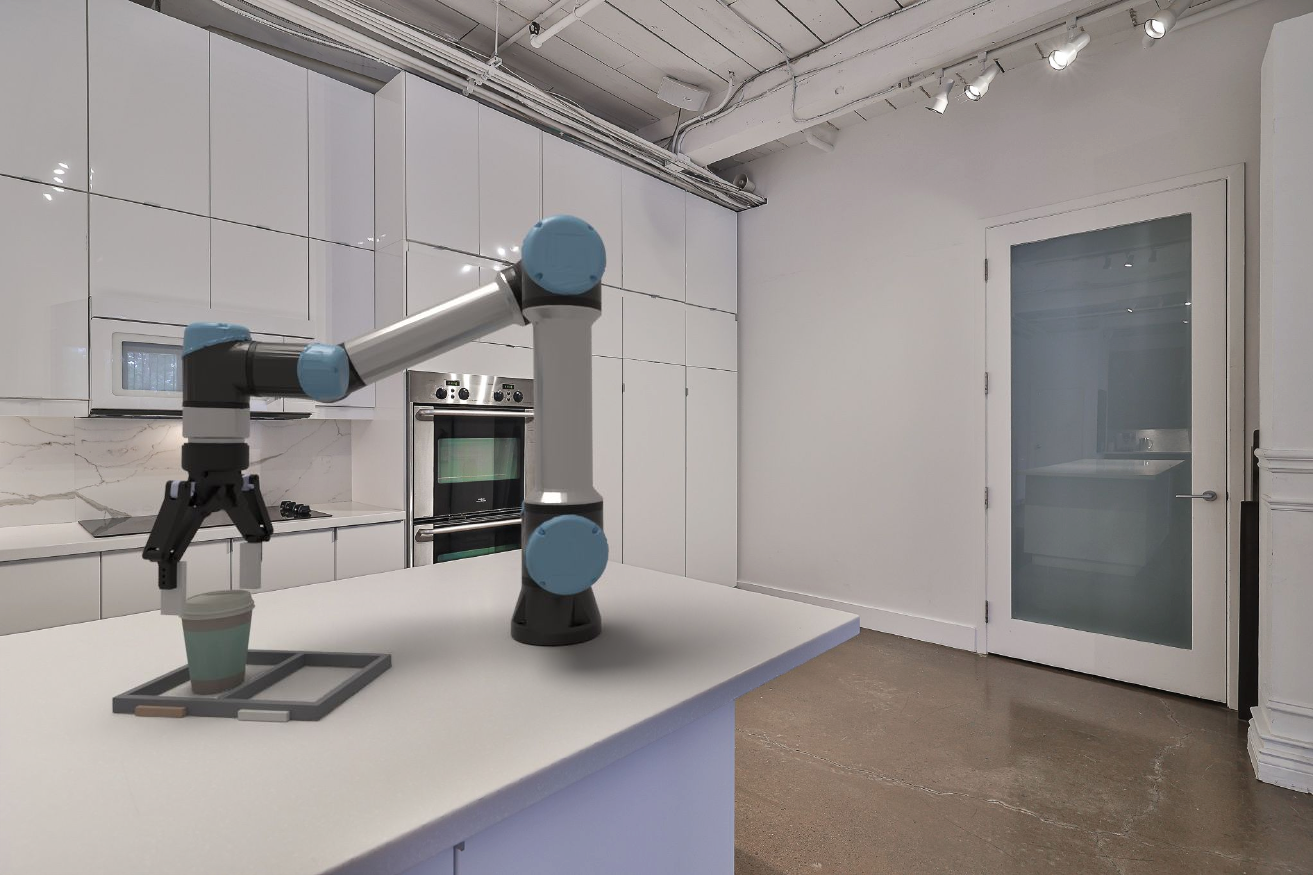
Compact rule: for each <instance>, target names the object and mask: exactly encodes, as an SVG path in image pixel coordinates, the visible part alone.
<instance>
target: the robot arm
mask: <svg viewBox="0 0 1313 875" xmlns="http://www.w3.org/2000/svg"><path fill="white" fill-rule="evenodd" d="M520 250H521V251H520V252H521V253H520V254H521V259H519V260H518V261H517V262H515V263H513V264H511V266H508V267H506V268H503V269H502V270H501V269H500V270H498V271H497V272H496V275H495V278H494V280H492V281H489V282H487V283H484V284H482V285H480V286H477V287H475V288H472V289H470V290H466V291H465V292H463V293H459V294H457V295H455V296H452V297H450V298H447V299H445V300H443V301H440V302H438V303H435V304H432V305H430V306H427V307H425V308H423V309H421V310H418V311H415V312H413V313H411V314H409V315H406V316H404V317H402V318H399V319H396V320H394V321H391V322H389V323H387V324H384V325H381V326H379V327H377V328H375V329H372V330H369V331H367V332H365V333H362V334H360V335H357V336H355V337H352V338H350V339H347V340H345V341H343V342H341V343H338V344H325V343H320V342H312V343H307V342H303V343H301V342H270V341H268V342H267V341H259V340H258V341H257V340H253V338H252V337H251V330H250V329H249V328H248V327H246V326H244V325H239V324H234V323H222V322H215V321H214V322H212V321H199V322H198V321H197V322H192V323H190V324H188V325H187V326H186V327H185V329H184V332H183V341H182V343H183V344H182V353H181V356H180V359H181V366H182V367H181V371H182V373H181V374H182V376H181V377H182V378H181V379H182V380H181V381H182V383H181V384H182V387H181V388H182V403H181V404H182V405H181V406H182V425H181V426H182V433H181V434H182V435H181V436H182V438H184V439H187V442H184V443H183V444H182V445H181V456H180V457H181V460H180V461H181V469H182V470H183V471H185V472H187V474H188V476H187V480H167V481H166V482H165V486H164V488H165V489H164V496H163V497H164V498H163V501H162V504H161V506H160V508H159V511H158V513H157V516H156V518H155V520H154V522H153V526H152V529H151V531H150V533H149V536H148V539H146V543H145V546H144V548H143V551H142V552H141V558H142V560H145V561H149V562H150V563H157V566H158V568H157V574H158V578H157V580H158V581H157V586H158V589H159V590H160V615H161V616H182V615H185V614H186V598H187V571H188V570H187V568H188V567H187V565H188V564H187V562H188V561H187V560H183V561H182V560H181V559H182V558H183V556H184V554H185V552H186V551H187V549H188V547H189V546H190V544H191V543H192V541H193V539H194V537H195V536H196V534H197V532H199V529H200V527H201V525H202V524H203V522H204V520H205V519H206V518H208V517H210V516H211V515H212V513H218V512H220V511H223V512H225V513H226V514H227V516H228V517H229V519H230V520H231V522H232V523H233V525H234V526H235V527H236V529H237V531H238V532H239V534H240V535H241V537H242V538H243V540H244V542H240V543H239V580H238V583H239V586H238V587H239V589H238V590H259V589H261V588H262V562H263V543H267V542H270V540H271V538H272V537H271V536H272V535H273V534H274V531H275V528H274V526H273V523H272V521H271V516H270V514H269V511H268V509H267V506H266V502H265V500H264V496H263V495H262V490H261V485H260V484H261V483H260V476H259V474H256V473H255V474H253V473H252V474H251V473H243V471H247V470H248V469H249V468H250V445H249V443H247V442H245V440H246V439H249V438H250V437H251V404H250V401H251V398H252V397H254V398H280V399H281V398H282V399H297V400H298V399H300V400H307V401H314V402H317V403H321V404H334V403H338V402H341V401H343V400H345V399H346V398H348V397H349V396H350V395H351V394H352V393H355V392H357V391H359V390H361V389H363V388H366V387H367V386H370V385H373V384H374V383H377V382H379V381H382V380H384V379H386V378H389V377H391V376H393V375H396V374H398V373H401V372H402V371H405V370H407V369H410V368H413V367H415V366H417V365H419V364H421V363H424V362H426V361H429V360H432V359H434V358H436V357H438V356H441V355H443V354H445V353H447V352H450V351H453V350H455V349H457V348H459V347H463V346H465V345H467V344H469V343H471V342H474V341H476V340H479V339H481V338H483V337H486V336H488V335H490V334H493V333H496V332H497V331H500V330H503V329H506V328H507V327H510V326H512V325H517V326H519V327H525V326H528V325H531V326H532V347H533V348H532V351H533V355H532V357H533V359H532V362H533V364H532V366H533V375H532V376H533V446H534V447H533V454H534V456H533V457H534V460H533V461H534V462H533V463H534V464H533V466H534V468H533V469H534V487H533V489H532V490H531V491H530V493H528V495H527V496H526V497H525V498H524V499H523V500H522V502H521V510H520V513H519V514H520V515H519V516H520V518H521V586H520V587H521V589H520V591H519V595H518V597H517V600H516V604H515V606H514V611H513V613H512V617H511V619H510V620H511V621H510V635H511V637H512V638H513V639H514V640H516V641H518V642H522V643H525V644H529V645H536V646H537V645H538V646H562V645H569V644H577V643H581V642H586V641H588V640H592V639H594V638H595V637H597V636H599V634H601V632H602V616H601V613H600V612H601V611H600V609H599V607H598V603H597V600H596V597H595V596H596V595H595V593H594V591H593V587H592V586H594V584H596V583H597V581H598V580H599V579H601V577H602V575H603V574H604V572H605V570H606V568H607V565H608V561H609V552H610V550H609V549H610V548H609V543H608V539H607V536H606V534H605V532H604V497H603V496H602V495H601V494H600V493H599V492H598V491H597V490H596V489H595V487H594V480H593V478H594V472H593V470H594V465H593V464H594V463H593V457H594V456H593V452H594V451H593V447H594V446H593V445H594V444H593V367H592V365H593V362H592V361H593V354H592V352H593V348H592V347H593V346H592V339H593V338H592V332H593V331H592V327H593V325H594V324H595V323H596V321H598V320H599V318H600V317H601V316H602V304H603V301H602V299H603V298H602V297H603V296H602V295H603V293H602V278H603V276H604V274H605V272H606V267H607V252H606V248H605V244H604V241H603V239H602V237H601V235H600V234H599V233H598V231H597V230H596V229H595V228H594V227H593V226H592V225H590V224H589V223H588V222H587V221H585V220H584V219H582V218H580V217H577V216H574V215H570V214H555V215H553V214H552V215H550V216H547V217H545V218H543V219H540V220H539V221H538V222H537V223H535V224H534V225H533V226H532V227H531V229H529V231H528V233H527V234H525V238H524V239H523V241H522V246H521V249H520Z"/></svg>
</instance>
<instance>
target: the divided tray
mask: <svg viewBox="0 0 1313 875" xmlns="http://www.w3.org/2000/svg"><path fill="white" fill-rule="evenodd" d="M249 664H250V665H265V666H266V665H268V666H269V665H271V666H272V667H270V668H269V669H266V670H265V671H263V672H261V673H259V674H257V675H256V676H254V677H252V678H250V679H248V680H246V681H245V682H243V683H242V684H241V685H239V686H237V687H235V688H233V689H231V690H228V691H225V692H224V693H223V694H221V695H219V696H217V697H202V696H201V697H198V696H197V697H195V696H174V695H173V696H172V695H171V696H170V695H169V696H168V695H161V694H162V693H164V692H166V691H168V690H172V689H173V688H175V687H177V686H178V685H181V684H183V683H186V682H187V681H189V680H190V674H189V667H188V663H186V664H184V665H182V666H179V667H177V668H175V669H173V670H171V671H168V672H167V673H164V674H161V675H160V676H157V677H155V678H153V679H151V680H148V681H146V682H144V683H142V684H140V685H137V686H135V687H134V688H133V687H132V688H131V689H128V690H126V691H124V692H122V693H120V694H117V695H115V696H113V697H112V698H111V700H112V701H111V702H112V708H111V710H112V713H115V714H116V713H118V714H134V716H135V717H158V718H177V719H178V718H179V719H181V718H185V717H189V716H190V717H191V716H192V717H216V718H218V717H219V718H237V720H238V721H255V722H257V721H258V722H277V723H278V722H280V723H287V722H289V721H309V722H310V721H314V722H318V721H320V720H321V719H322V718H324V717H325V716H326V715H328V714H329V713H330V712H332V711H333V710H334V709H336V708H337V707H339V706H340V705H341V704H343V703H344V702H345V701H347V700H348V699H350V698H351V697H352V696H353V695H355V694H356V693H357V692H359V691H360V690H362V689H363V688H365V686H367V685H368V684H369V683H371V682H372V681H374V680H375V679H376V678H377V677H379V676H380V675H381V674H383V673H384V672H386V671H387V670H388V669H390V668H391V667H392V653H385V652H384V653H381V652H380V653H376V652H352V651H351V652H348V651H346V652H345V651H318V650H317V651H316V650H291V649H290V650H284V649H283V650H282V649H258V648H257V649H254V648H248V652H247V661H246V665H249ZM304 667H329V668H331V667H333V668H334V667H335V668H360V670H358V671H356V673H354V674H352V675H351V676H350V677H349V678H347V679H346V680H344V681H343V682H341V683H339V685H337V686H336V687H334V688H332V689H331V690H329V691H328V692H326V693H325V694H324V695H322V696H321V697H320V698H318V699H317V700H315V701H307V700H306V701H301V700H277V699H276V700H275V699H274V700H273V699H253V698H252V697H254V696H256V695H258V694H259V693H261V692H262V691H263V692H264V691H265V690H266V689H268V688H269V687H271V686H273V685H276V684H277V683H278V682H279V681H281V680H284V679H285V678H287V677H288V676H290V675H292V674H294V673H295V672H297V671H298V670H300V669H302V668H304ZM251 698H252V699H251Z"/></svg>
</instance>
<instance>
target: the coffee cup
mask: <svg viewBox="0 0 1313 875" xmlns="http://www.w3.org/2000/svg"><path fill="white" fill-rule="evenodd" d="M255 607H256V605H255V600H254V599H253V597H252V594H251V592H250V591H248V590H247V589H223V590H222V589H221V590H213V591H212V590H210V591H207V592H201V593H196V594H193V595H190V596H188V597H187V596H186V614H185V615H182V616H178V615H177V616H178V618H180V619H181V624H182V631H183V632H182V633H183V637H184V638H183V639H184V640H183V641H184V645H185V653H186V660H187V664H188V667H189V674H190V679H189V680H190V686H191V691H192V693H194V694H198V695H209V694H210V695H211V694H218V693H223V692H224V693H225V692H228V691H230V690H232V689H233V688H235V687H237V686H239V685H241V684H243V683H244V681H245V674H246V667H247V664H246V661H247V652H248V649H249V644H250V635H251V634H250V633H251V626H252V620H253V619H252V617H253V609H255Z"/></svg>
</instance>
